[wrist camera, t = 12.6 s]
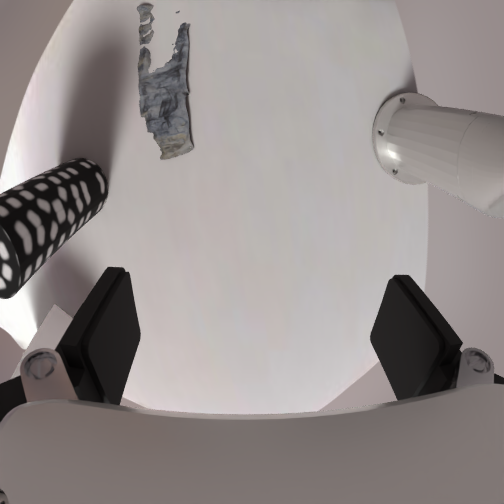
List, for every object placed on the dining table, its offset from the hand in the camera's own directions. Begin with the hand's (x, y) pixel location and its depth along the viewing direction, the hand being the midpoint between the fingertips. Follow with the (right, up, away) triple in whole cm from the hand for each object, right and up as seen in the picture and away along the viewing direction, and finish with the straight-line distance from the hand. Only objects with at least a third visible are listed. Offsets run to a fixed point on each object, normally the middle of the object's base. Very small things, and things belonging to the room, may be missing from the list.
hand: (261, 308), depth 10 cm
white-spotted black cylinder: (-23, +11, +25) cm, 36 cm away
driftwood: (-10, +23, +21) cm, 32 cm away
